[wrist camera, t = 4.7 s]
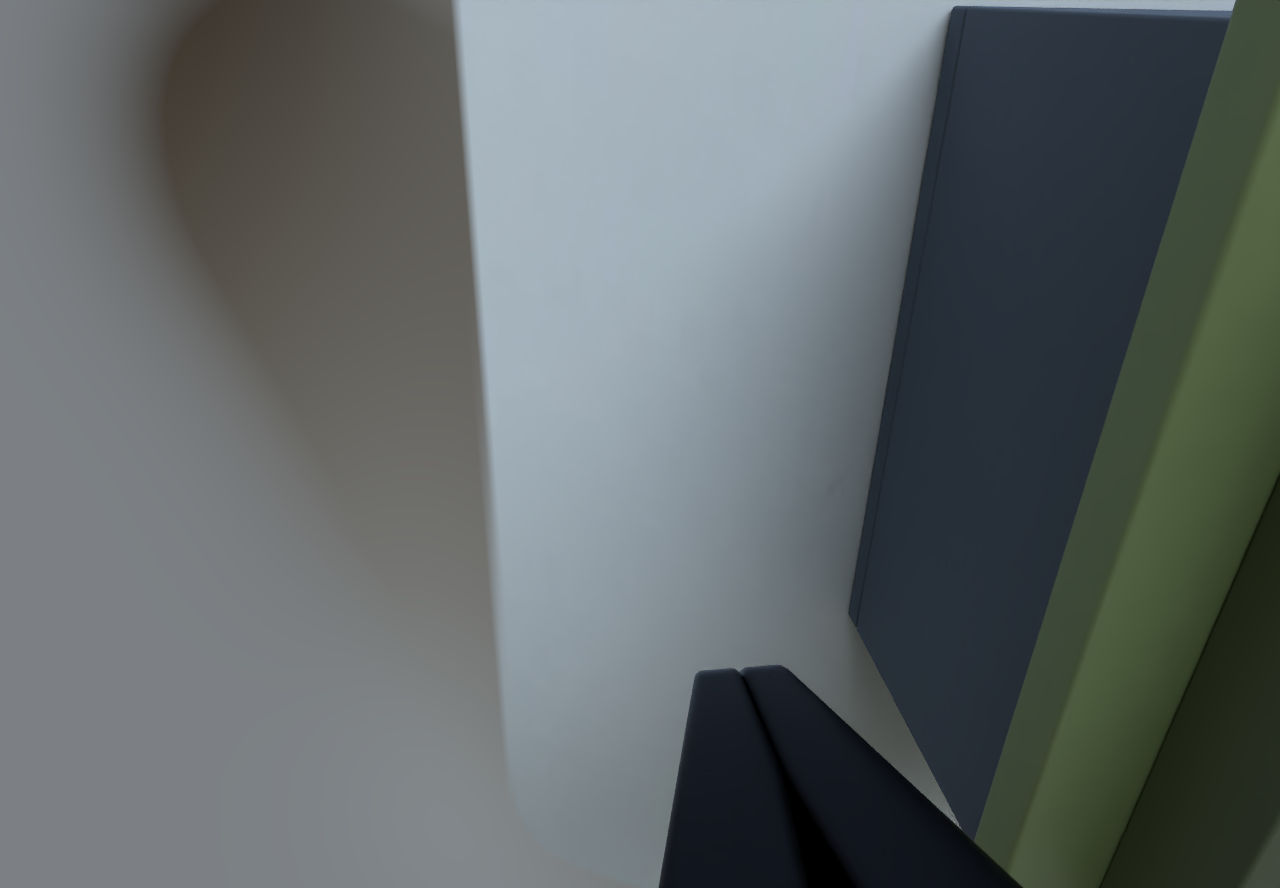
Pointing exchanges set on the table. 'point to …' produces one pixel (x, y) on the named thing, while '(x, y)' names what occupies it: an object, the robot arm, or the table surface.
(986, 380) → the bin
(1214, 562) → the bin lid
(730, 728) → the robot arm
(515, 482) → the table surface
